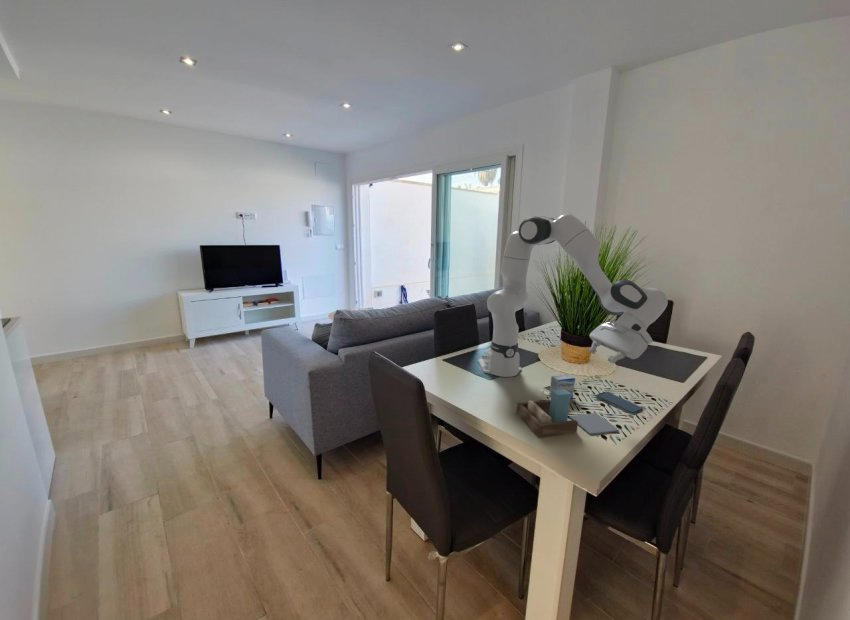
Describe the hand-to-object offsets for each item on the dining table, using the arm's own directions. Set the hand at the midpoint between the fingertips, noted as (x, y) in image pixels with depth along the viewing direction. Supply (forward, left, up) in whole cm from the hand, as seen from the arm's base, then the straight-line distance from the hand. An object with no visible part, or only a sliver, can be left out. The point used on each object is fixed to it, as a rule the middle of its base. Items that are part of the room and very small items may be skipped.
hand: (600, 356), depth 120 cm
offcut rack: (+2, -20, -22) cm, 30 cm away
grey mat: (+6, -4, -22) cm, 23 cm away
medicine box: (-14, -3, -22) cm, 27 cm away
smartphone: (-6, +16, -23) cm, 28 cm away
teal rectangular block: (+2, -15, -22) cm, 27 cm away
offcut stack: (+2, -22, -22) cm, 32 cm away
